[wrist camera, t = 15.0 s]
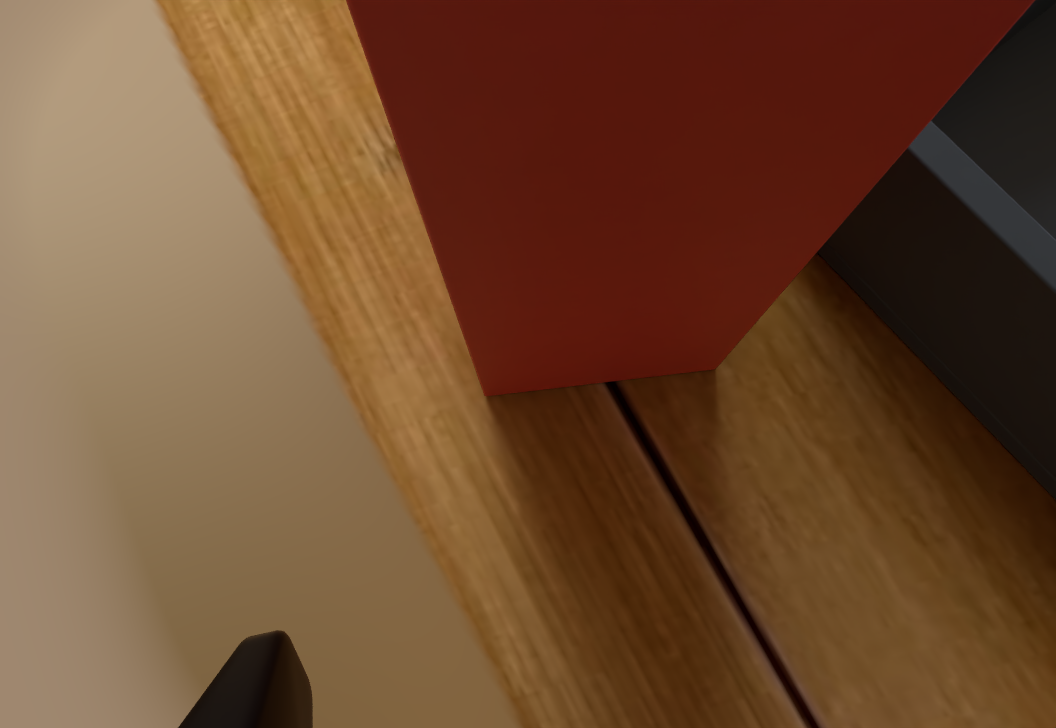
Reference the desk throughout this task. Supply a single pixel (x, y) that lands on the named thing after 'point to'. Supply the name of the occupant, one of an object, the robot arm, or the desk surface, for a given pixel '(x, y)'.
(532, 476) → the desk surface
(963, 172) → the dark gray tray
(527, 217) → the package
